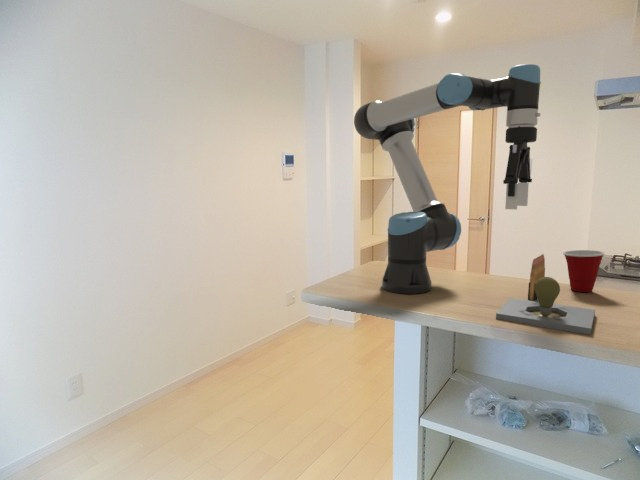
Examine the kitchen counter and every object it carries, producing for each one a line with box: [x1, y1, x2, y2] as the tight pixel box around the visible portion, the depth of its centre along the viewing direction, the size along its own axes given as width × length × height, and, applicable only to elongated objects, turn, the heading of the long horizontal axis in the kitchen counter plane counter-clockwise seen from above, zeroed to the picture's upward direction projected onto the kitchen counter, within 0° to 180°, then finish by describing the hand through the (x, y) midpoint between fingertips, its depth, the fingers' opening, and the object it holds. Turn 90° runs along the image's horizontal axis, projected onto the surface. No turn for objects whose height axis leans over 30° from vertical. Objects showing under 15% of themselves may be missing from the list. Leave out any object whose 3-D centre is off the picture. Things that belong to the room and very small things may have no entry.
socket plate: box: [495, 297, 596, 336], centre depth 109 cm, size 20×16×2 cm
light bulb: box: [535, 276, 561, 317], centre depth 108 cm, size 6×6×10 cm
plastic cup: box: [562, 249, 605, 293], centre depth 132 cm, size 11×11×12 cm
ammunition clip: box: [527, 253, 546, 302], centre depth 126 cm, size 11×2×12 cm, turn 139°
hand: (516, 207), depth 118 cm, fingers open, 13 cm apart
